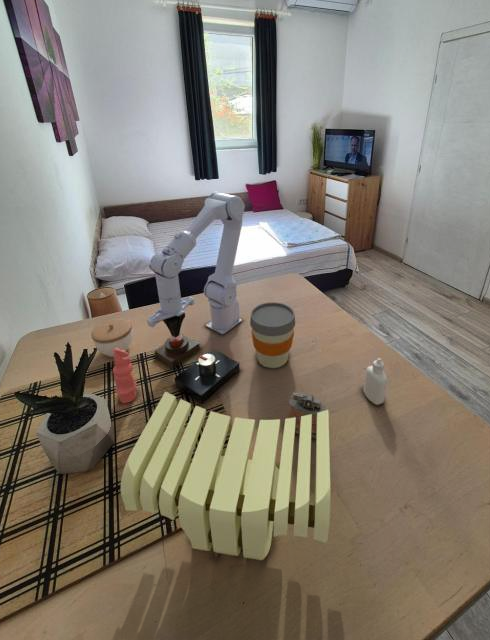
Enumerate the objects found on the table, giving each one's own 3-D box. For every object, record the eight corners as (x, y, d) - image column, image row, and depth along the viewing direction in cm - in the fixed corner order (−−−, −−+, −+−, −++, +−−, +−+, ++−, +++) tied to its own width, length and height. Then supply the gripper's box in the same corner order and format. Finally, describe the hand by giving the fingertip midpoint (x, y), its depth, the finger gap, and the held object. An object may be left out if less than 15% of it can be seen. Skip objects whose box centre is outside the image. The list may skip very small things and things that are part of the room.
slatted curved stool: (137, 548, 53) (116, 478, 46) (176, 455, 67) (165, 391, 60) (322, 581, 49) (331, 510, 42) (322, 475, 64) (328, 409, 57)
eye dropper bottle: (379, 388, 84) (386, 351, 79) (384, 406, 79) (391, 367, 74) (362, 387, 84) (368, 350, 80) (365, 404, 79) (372, 366, 75)
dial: (219, 367, 87) (218, 356, 85) (208, 378, 83) (207, 366, 82) (206, 362, 89) (205, 350, 87) (195, 372, 85) (194, 360, 84)
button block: (182, 339, 103) (180, 328, 101) (199, 349, 98) (198, 338, 97) (155, 356, 95) (153, 345, 93) (173, 368, 91) (171, 356, 89)
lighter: (325, 428, 73) (328, 395, 69) (322, 441, 70) (325, 407, 66) (290, 418, 76) (291, 385, 72) (286, 430, 73) (287, 397, 69)
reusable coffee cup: (243, 365, 92) (241, 321, 86) (261, 339, 102) (261, 298, 96) (285, 377, 87) (286, 332, 81) (299, 349, 98) (301, 307, 92)
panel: (214, 356, 95) (213, 348, 94) (239, 371, 90) (239, 362, 88) (175, 386, 85) (174, 377, 83) (202, 405, 79) (201, 395, 78)
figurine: (143, 389, 84) (133, 342, 78) (133, 405, 79) (122, 356, 73) (124, 387, 84) (113, 340, 78) (113, 403, 80) (100, 355, 74)
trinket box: (117, 366, 92) (111, 338, 88) (88, 357, 95) (80, 331, 91) (143, 342, 101) (138, 317, 97) (115, 335, 104) (109, 311, 100)
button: (177, 337, 98) (176, 332, 97) (185, 342, 96) (184, 337, 95) (167, 343, 95) (166, 339, 94) (175, 348, 93) (174, 343, 92)
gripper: (156, 311, 81) (163, 354, 87) (199, 288, 92) (203, 327, 97) (139, 302, 85) (147, 344, 90) (183, 281, 96) (187, 319, 101)
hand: (175, 335), depth 94 cm, fingers closed
